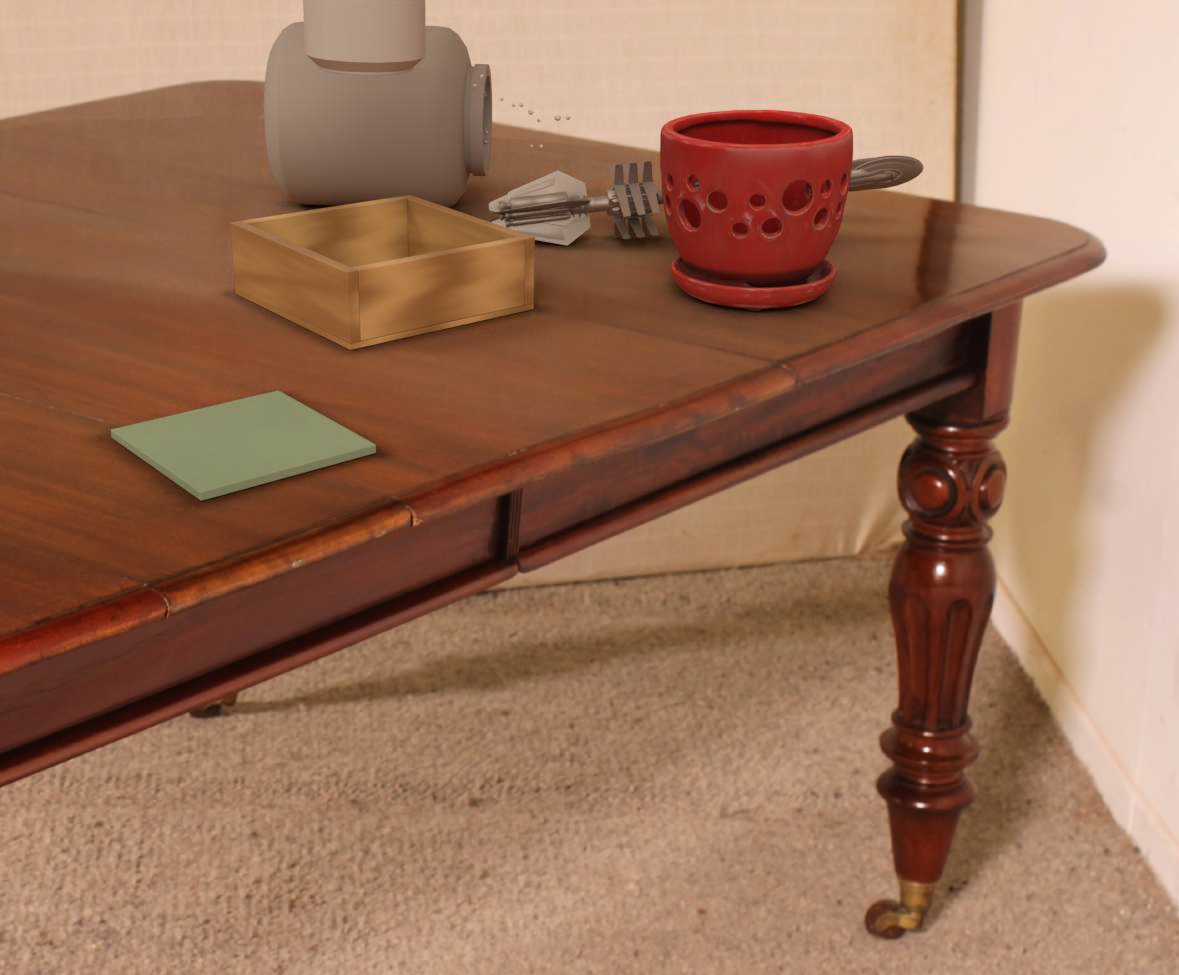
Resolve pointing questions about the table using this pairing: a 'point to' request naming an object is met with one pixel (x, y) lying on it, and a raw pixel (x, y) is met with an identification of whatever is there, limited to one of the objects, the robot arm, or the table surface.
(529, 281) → the wooden box
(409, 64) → the can
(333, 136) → the jar
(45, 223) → the table surface
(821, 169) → the flower pot
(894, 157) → the spaceship
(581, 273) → the table surface
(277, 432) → the mat
